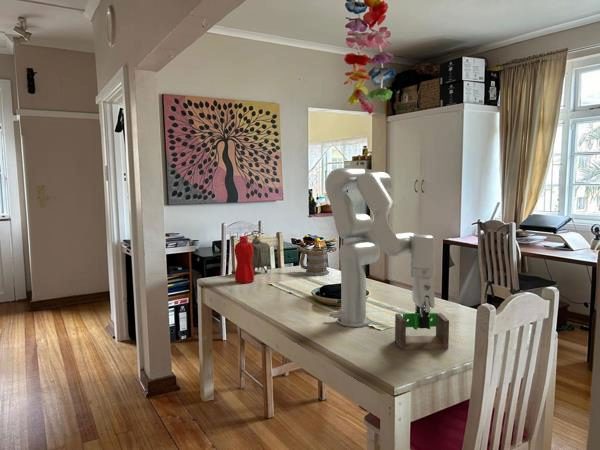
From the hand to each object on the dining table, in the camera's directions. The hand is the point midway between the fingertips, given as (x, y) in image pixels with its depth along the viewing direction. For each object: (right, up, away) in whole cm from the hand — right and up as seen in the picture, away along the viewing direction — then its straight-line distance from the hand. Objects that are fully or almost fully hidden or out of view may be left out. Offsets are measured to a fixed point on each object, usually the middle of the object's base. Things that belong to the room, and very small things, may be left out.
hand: (421, 325), depth 150 cm
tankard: (-34, +5, +114) cm, 119 cm away
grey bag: (-67, +5, +115) cm, 133 cm away
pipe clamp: (-1, -1, 0) cm, 1 cm away
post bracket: (0, -7, +1) cm, 7 cm away
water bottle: (-70, +3, +92) cm, 116 cm away
